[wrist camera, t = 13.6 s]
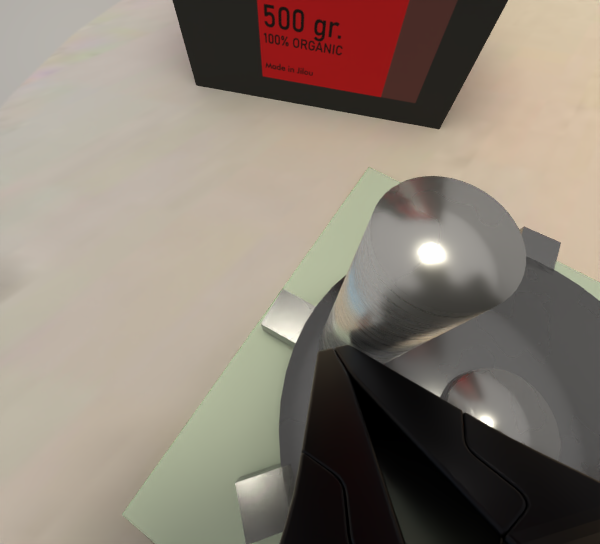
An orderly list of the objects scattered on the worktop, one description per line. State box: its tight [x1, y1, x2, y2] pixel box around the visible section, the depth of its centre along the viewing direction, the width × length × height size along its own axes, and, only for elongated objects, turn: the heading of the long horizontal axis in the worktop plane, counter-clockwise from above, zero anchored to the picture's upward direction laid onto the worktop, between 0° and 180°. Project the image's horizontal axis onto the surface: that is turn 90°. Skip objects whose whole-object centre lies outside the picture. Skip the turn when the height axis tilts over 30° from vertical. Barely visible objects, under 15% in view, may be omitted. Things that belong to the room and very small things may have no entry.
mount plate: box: [122, 167, 600, 544], centre depth 14 cm, size 20×20×1 cm
